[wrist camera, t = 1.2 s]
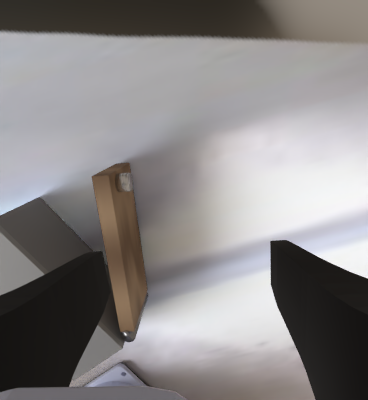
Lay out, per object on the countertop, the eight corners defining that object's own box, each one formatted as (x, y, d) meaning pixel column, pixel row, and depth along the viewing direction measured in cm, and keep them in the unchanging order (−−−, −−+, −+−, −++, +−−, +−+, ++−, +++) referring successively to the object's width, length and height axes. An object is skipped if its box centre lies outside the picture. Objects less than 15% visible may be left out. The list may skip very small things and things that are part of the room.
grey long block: (139, 298, 24) (122, 348, 19) (100, 326, 25) (73, 380, 20) (39, 197, 22) (-12, 221, 17) (1, 232, 23) (-57, 265, 18)
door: (157, 299, 23) (147, 341, 19) (137, 299, 24) (122, 342, 19) (139, 161, 20) (121, 174, 16) (116, 163, 20) (91, 176, 16)
